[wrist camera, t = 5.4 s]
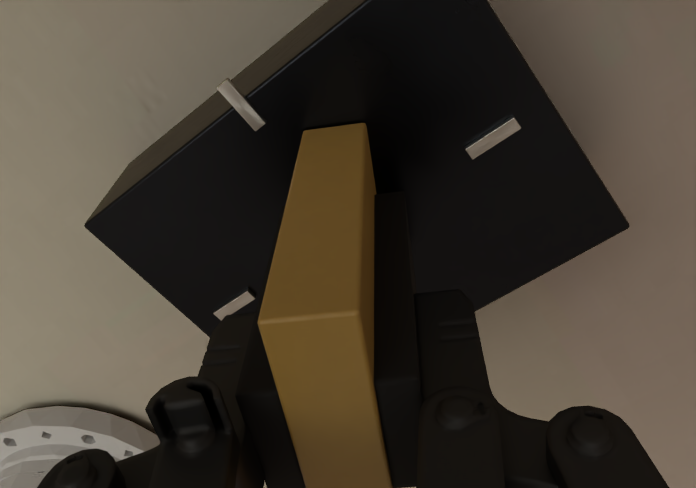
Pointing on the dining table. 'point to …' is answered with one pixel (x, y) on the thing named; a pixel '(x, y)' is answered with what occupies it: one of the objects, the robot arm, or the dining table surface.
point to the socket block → (386, 154)
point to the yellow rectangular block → (327, 313)
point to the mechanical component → (62, 440)
